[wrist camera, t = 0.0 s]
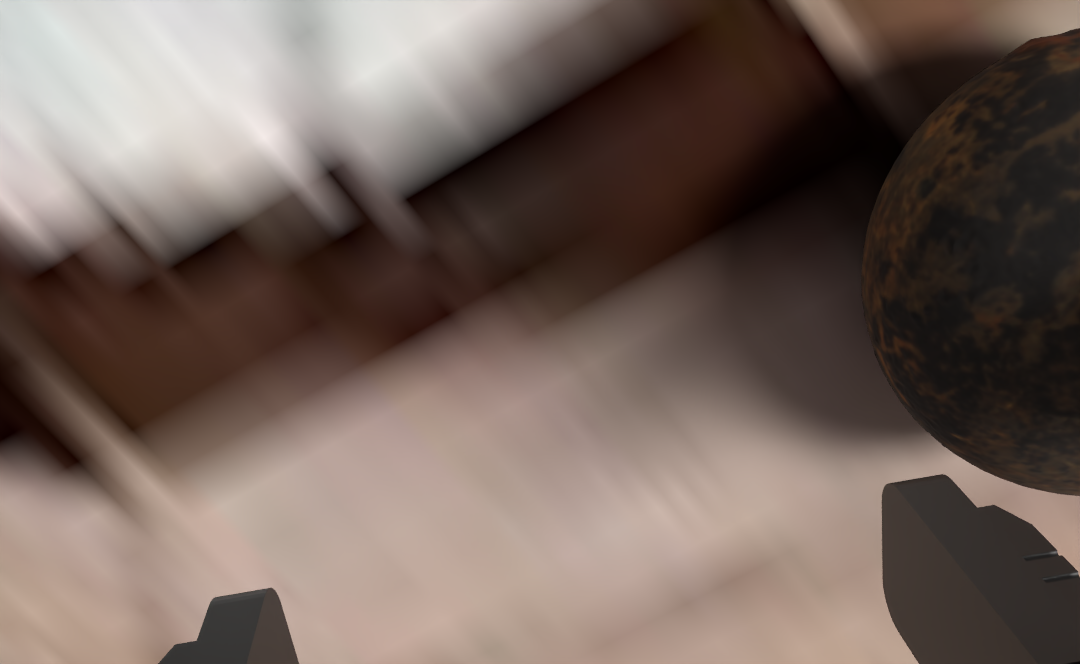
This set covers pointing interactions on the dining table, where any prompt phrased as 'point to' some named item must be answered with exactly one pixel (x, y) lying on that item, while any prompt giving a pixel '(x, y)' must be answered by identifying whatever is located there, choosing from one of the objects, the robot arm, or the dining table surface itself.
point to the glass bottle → (988, 269)
